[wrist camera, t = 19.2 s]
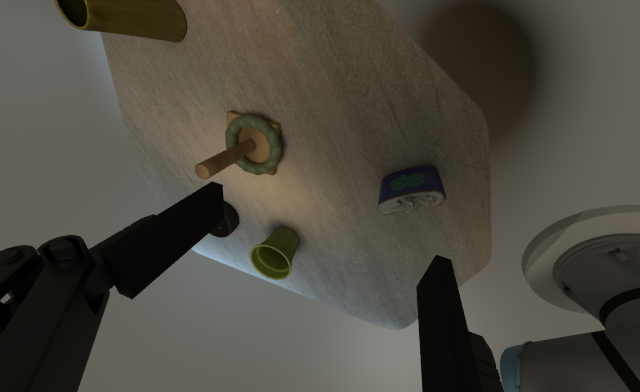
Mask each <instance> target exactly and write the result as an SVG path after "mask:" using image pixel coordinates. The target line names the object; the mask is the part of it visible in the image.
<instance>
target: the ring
mask: <svg viewBox="0 0 640 392" xmlns="http://www.w3.org/2000/svg"><path fill="white" fill-rule="evenodd" d="M245 127H252V128H255V129H258V130H259V131H260V132H261V133H262V134H263V135H264V136H265V137H266V139H267V142H268V144H269V147H270V153H269V158H268V159H267V160H266V162H265V163H261V164H255V163H252V162H249V161H248V160H247V159H246V158H245V157H243V158H242V159H240V160H238V161H237V162H235V163H236V164H237V165H238V166H239V167H241V168H242V169H243V170H244V171H246V172H250V173H253V174H256V175H261V174H265V173H269V172H271V171H272V170H273V169H274V168H275V167H276V166H277V164H278V163H279V162H280V156H281V144H280V141H279V139H278V136H277V134H276V131H275V130H274V129H273V128H272V127H271V126H270V125H269V124H268V123H267V122H266V121H265V120H264V119H262V118H260V117H256V116H253V115H249V114H245V115H242V116H239V117H237V118H234V119H233V120H232V121H231V123H230V124H229V126H228V128H227V130H226V132H225V135H226V148H227V149H229V148H231V147H233V146H235V145H237V135H238V133H239V131H240V130H241V129H242V128H245Z"/></svg>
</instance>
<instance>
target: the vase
mask: <svg viewBox="0 0 640 392" xmlns="http://www.w3.org/2000/svg"><path fill="white" fill-rule="evenodd" d="M54 1H55V4H56V6H57V8H58V10H59V11H60V13H61V14H62V16H63V17H64V18H65V19H66V20H67V22H69V24H70V25H72V26H73V27H75V28H77V29H81V30H88V31H99V32H108V33H116V34H123V35H130V36H138V37H144V38H150V39H158V40H166V41H171V42H179V41H181V40H182V39H183V38H184V36H185V32H186V21H185V17H184V14H183V12H182V10H181V8H180V7H179V5H178V4H177V3H176V2H175V1H174V0H54Z"/></svg>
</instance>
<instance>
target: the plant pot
mask: <svg viewBox="0 0 640 392" xmlns="http://www.w3.org/2000/svg"><path fill="white" fill-rule="evenodd" d="M298 244H299V238H298V237H297V235H296V233H295V232H294V231H293V230H291V229H289V228H286V227H282V228H279V229H277V230H276V231H275V232H274V233H273V234H272V235H271V236H270V237H268V238H267V239H266V240H265V241H264V242H263V243H261V244H259V245H256V246H254V247H253V248H252V249H251V252H250V260H251V262H252V264H253V266H254V267H255V269H256V270H257V271H258V272H260V273H261V274H262V275H264V276H266V277H268V278H270V279H274V280H283V279H285V278H287V277H288V276H289V275H290V273H291V265H292V260H293V257H294V254H295V252H296V249H297V246H298Z"/></svg>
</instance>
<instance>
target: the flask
mask: <svg viewBox="0 0 640 392" xmlns="http://www.w3.org/2000/svg"><path fill="white" fill-rule="evenodd" d="M445 200H446V194H445V191H444V188H443V185H442V182H441V179H440V176H439V172H438V170H437V168H436V167H435V166H433V165H423V166H417V167H411V168H407V169H405V170H402V171H399V172H396V173H393V174H391V175H389V176H387V177H385V178H384V179H383V180H382V182H381V189H380V195H379V202H378V211H379V212H380V213H381V214H383V215H390V214H392V213H395V212H398V211H401V210H405V212H404V213H406V214H412V213H410V212H409V210H413V208H416V207H428V206H429V207H435V206H439V205H441V204H442V203H443V202H444V201H445Z"/></svg>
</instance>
